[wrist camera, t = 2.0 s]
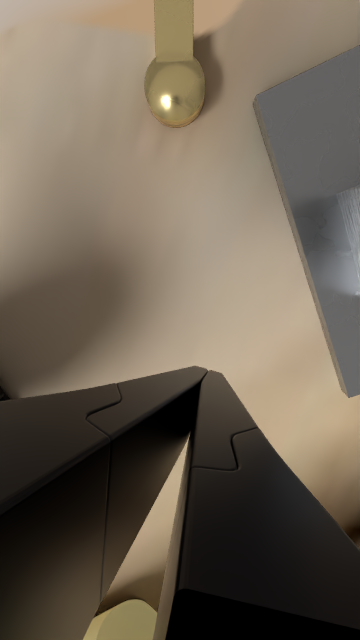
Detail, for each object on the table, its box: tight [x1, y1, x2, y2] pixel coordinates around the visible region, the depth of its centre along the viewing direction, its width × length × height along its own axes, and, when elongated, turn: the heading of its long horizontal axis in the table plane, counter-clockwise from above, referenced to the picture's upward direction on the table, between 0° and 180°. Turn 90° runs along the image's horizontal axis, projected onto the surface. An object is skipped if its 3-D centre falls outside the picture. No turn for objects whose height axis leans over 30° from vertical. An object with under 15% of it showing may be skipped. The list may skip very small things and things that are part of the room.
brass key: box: [144, 0, 205, 128], centre depth 15 cm, size 8×3×1 cm, turn 1°
